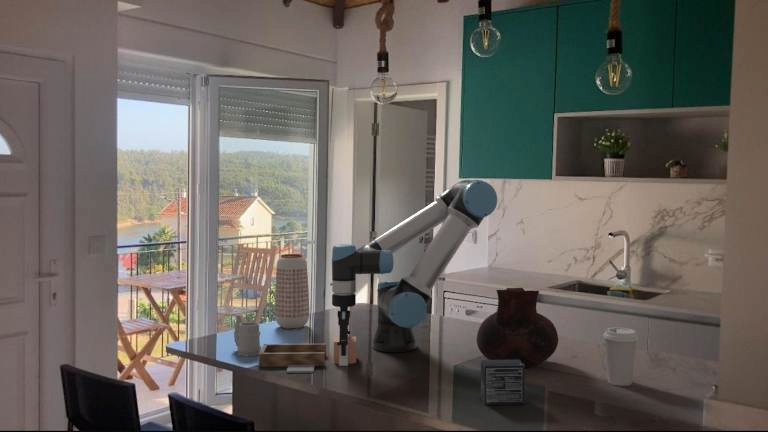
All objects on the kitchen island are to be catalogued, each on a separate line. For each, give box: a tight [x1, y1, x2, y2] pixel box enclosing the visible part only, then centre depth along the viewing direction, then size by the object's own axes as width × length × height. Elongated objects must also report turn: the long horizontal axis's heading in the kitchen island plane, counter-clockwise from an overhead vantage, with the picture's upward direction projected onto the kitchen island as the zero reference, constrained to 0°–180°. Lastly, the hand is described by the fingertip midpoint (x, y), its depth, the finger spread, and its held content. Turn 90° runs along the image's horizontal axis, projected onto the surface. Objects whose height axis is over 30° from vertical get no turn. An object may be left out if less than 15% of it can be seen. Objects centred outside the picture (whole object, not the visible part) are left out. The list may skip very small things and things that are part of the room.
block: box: [333, 336, 357, 365], centre depth 221 cm, size 7×7×7 cm
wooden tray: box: [258, 343, 327, 368], centre depth 221 cm, size 20×12×4 cm, turn 92°
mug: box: [233, 314, 262, 357], centre depth 231 cm, size 8×12×12 cm, turn 47°
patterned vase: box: [274, 253, 310, 330], centre depth 269 cm, size 13×13×28 cm
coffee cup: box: [602, 327, 639, 387], centre depth 198 cm, size 10×10×15 cm
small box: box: [480, 359, 526, 406], centre depth 181 cm, size 11×6×10 cm, turn 92°
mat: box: [285, 364, 316, 374], centre depth 211 cm, size 8×7×1 cm
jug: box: [476, 287, 559, 369], centre depth 216 cm, size 25×25×25 cm
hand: (343, 360), depth 221 cm, fingers open, 12 cm apart
